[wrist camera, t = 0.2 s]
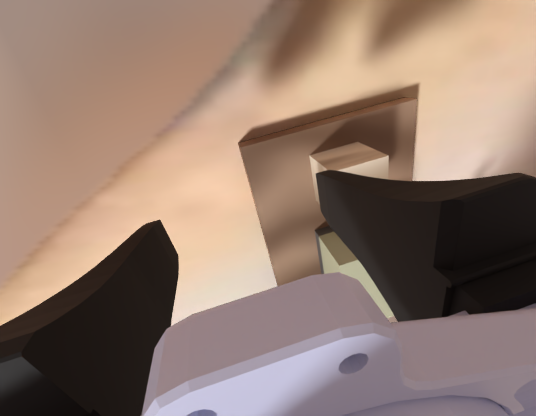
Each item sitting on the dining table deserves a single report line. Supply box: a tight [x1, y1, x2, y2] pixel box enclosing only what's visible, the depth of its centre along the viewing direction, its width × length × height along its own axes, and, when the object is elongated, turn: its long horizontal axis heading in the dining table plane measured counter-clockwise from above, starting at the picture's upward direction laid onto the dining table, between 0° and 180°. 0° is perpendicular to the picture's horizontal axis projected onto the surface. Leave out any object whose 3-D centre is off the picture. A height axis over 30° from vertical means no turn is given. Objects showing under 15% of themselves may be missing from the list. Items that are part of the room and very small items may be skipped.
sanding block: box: [315, 226, 394, 318], centre depth 23 cm, size 8×5×5 cm, turn 12°
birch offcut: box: [309, 142, 389, 204], centre depth 19 cm, size 4×4×4 cm
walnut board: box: [238, 97, 417, 286], centre depth 24 cm, size 18×14×2 cm
